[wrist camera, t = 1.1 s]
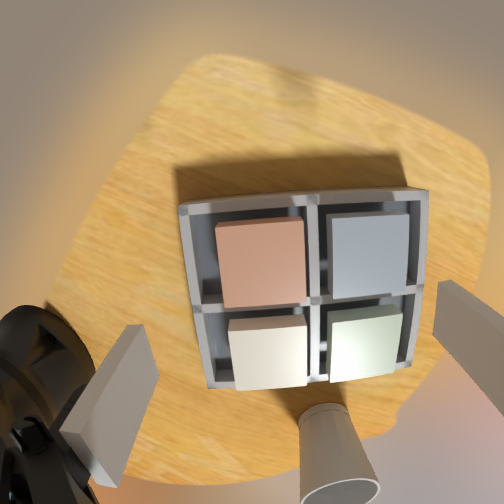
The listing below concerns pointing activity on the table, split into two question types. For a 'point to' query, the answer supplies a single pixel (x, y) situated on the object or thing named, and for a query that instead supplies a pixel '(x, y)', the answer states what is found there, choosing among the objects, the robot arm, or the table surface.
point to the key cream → (269, 352)
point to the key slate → (367, 253)
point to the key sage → (362, 342)
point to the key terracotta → (262, 261)
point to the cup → (333, 459)
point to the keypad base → (317, 295)
